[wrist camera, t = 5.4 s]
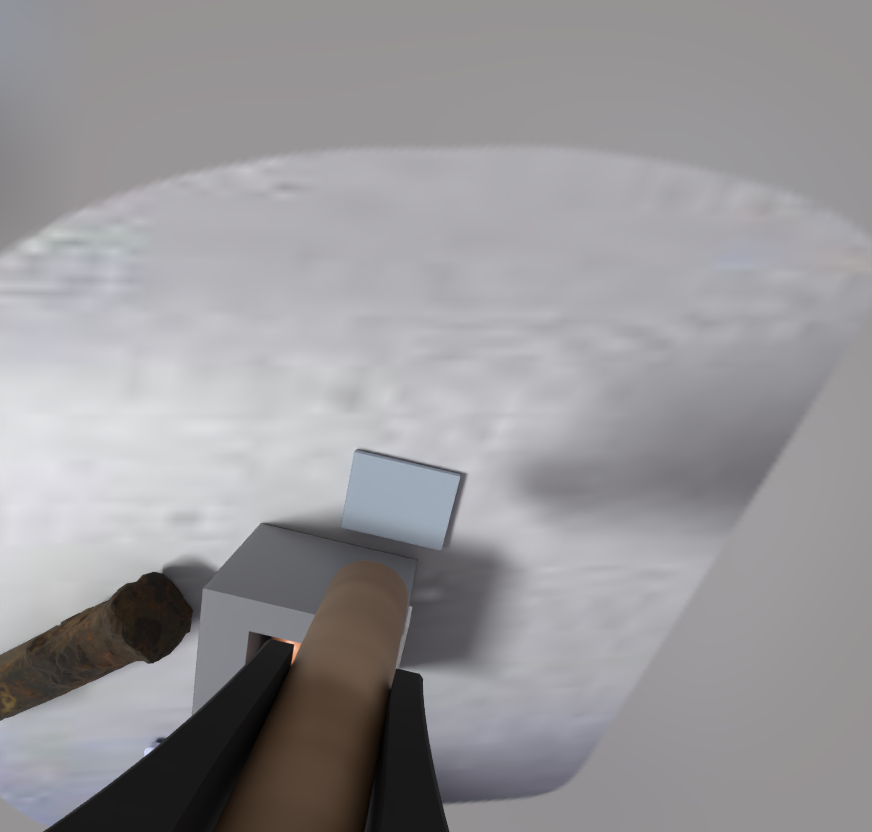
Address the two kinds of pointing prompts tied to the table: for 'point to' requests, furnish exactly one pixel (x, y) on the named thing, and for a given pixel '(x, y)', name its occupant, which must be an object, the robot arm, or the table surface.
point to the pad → (399, 500)
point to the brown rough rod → (95, 643)
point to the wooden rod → (327, 714)
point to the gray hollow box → (273, 598)
